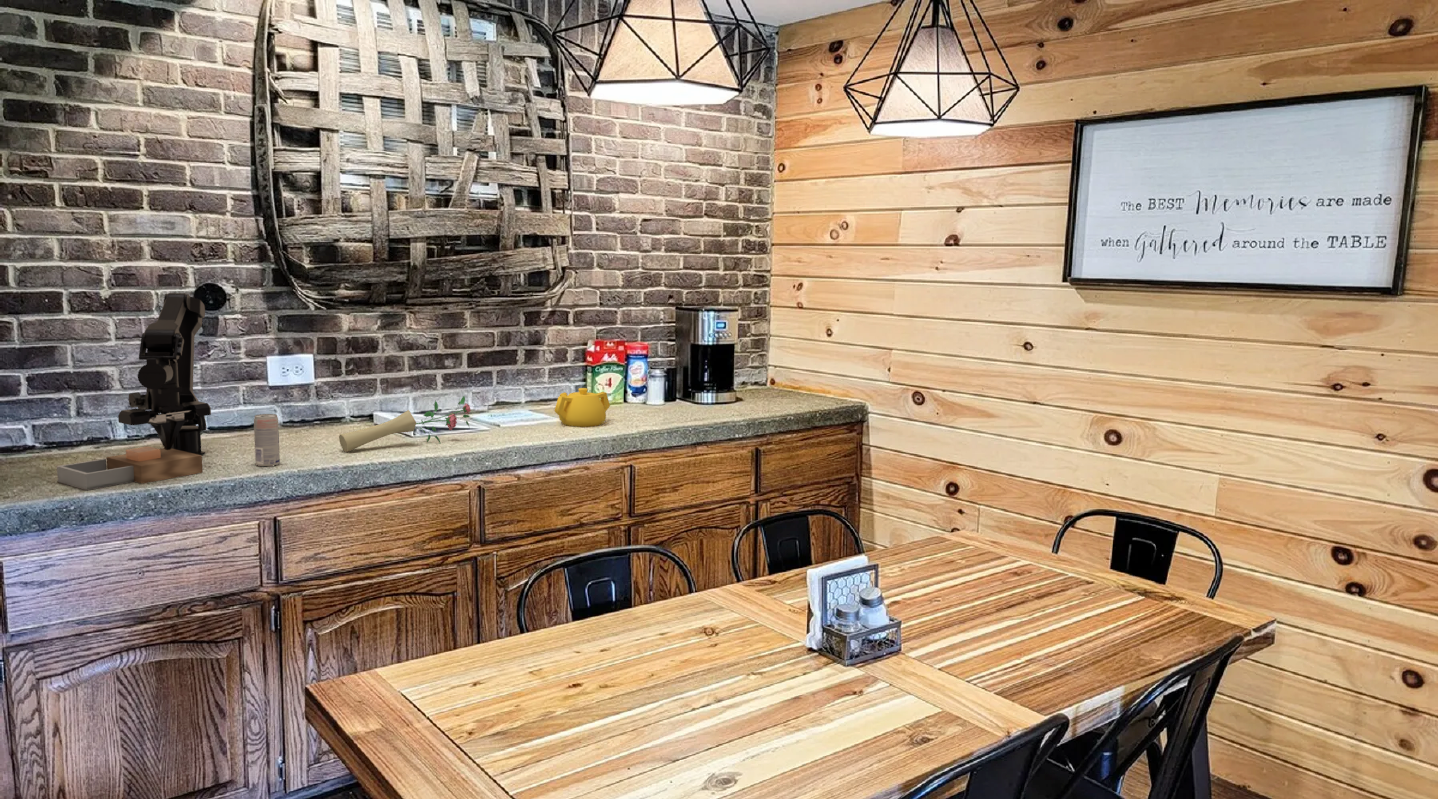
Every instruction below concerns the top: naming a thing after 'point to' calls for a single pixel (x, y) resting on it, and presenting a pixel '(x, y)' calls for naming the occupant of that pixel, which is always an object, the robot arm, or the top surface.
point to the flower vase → (396, 427)
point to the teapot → (582, 408)
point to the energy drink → (266, 440)
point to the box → (93, 474)
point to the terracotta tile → (143, 453)
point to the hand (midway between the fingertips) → (167, 449)
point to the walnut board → (160, 465)
